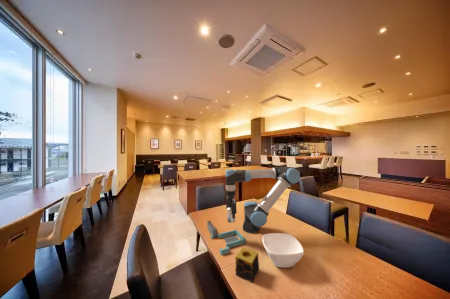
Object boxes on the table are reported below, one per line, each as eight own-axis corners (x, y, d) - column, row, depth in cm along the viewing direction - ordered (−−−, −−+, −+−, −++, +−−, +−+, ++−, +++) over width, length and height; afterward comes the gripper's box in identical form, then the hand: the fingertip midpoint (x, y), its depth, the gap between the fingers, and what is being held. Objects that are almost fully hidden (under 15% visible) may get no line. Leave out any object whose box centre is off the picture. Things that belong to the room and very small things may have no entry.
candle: (252, 283, 78) (252, 263, 78) (235, 275, 84) (234, 256, 84) (259, 270, 87) (258, 252, 87) (243, 263, 92) (242, 246, 92)
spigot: (229, 218, 121) (228, 205, 121) (236, 219, 119) (236, 206, 119) (226, 221, 116) (225, 208, 116) (233, 223, 113) (233, 209, 113)
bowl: (260, 250, 104) (259, 232, 105) (293, 250, 104) (292, 232, 104) (268, 276, 82) (267, 254, 82) (310, 276, 82) (309, 254, 82)
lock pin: (210, 227, 137) (210, 219, 137) (216, 236, 122) (216, 228, 122) (207, 228, 136) (206, 220, 136) (213, 237, 121) (212, 229, 121)
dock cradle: (235, 231, 129) (234, 228, 129) (249, 246, 109) (249, 242, 109) (210, 237, 121) (210, 233, 121) (221, 255, 100) (221, 250, 100)
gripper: (221, 187, 125) (222, 216, 124) (231, 193, 107) (232, 226, 107) (229, 186, 128) (230, 214, 127) (241, 192, 110) (241, 224, 110)
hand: (231, 220), depth 117 cm, fingers closed on spigot, 6 cm apart
